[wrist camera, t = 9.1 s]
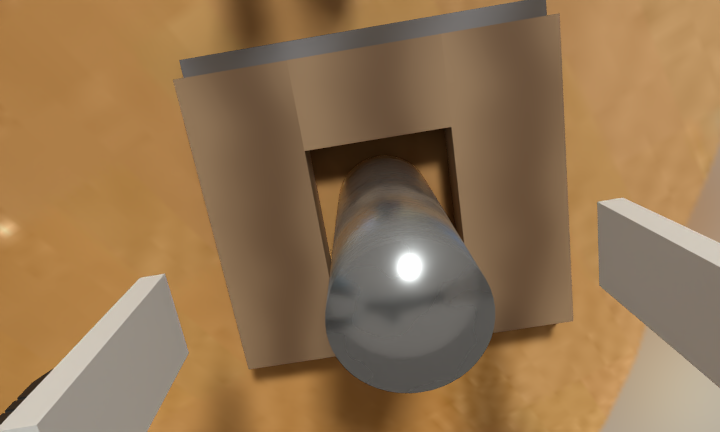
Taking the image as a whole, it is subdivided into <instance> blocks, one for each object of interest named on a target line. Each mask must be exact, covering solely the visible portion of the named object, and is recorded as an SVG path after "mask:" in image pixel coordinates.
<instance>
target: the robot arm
mask: <svg viewBox="0 0 720 432" xmlns="http://www.w3.org/2000/svg"><path fill="white" fill-rule="evenodd" d="M597 207H598V247H599V286H601V287H602V288H603V289H604V290H605V291H607V292H608V293H609V294H610V295H611V296H612V297H614V298H615V299H616V300H617V301H618V302H619V303H621V304H622V305H623V306H624V307H625V308H626V309H628V310H629V311H630V312H631V313H632V314H634V315H635V316H636V317H637V318H638V319H639V320H641V321H642V322H643V323H644V324H645V325H646V326H648V327H649V328H650V329H651V330H652V331H654V332H655V333H656V334H657V335H658V336H660V337H661V338H662V339H663V340H664V341H665V342H666V343H668V344H669V345H670V346H671V347H672V348H674V349H675V350H676V351H677V352H678V353H679V354H681V355H682V356H683V357H684V358H685V359H687V360H688V361H689V362H690V363H691V364H692V365H693V366H695V367H696V368H697V369H698V370H699V371H701V372H702V373H703V374H704V375H705V376H707V377H708V378H709V379H710V380H711V381H712V382H713V383H715V384H716V385H717V386H718V387H719V388H720V243H719V242H717V241H714V240H712V239H710V238H708V237H706V236H704V235H701V234H699V233H697V232H695V231H693V230H691V229H689V228H687V227H685V226H682V225H680V224H678V223H676V222H674V221H672V220H670V219H667V218H665V217H663V216H661V215H659V214H657V213H655V212H652V211H650V210H648V209H646V208H644V207H642V206H640V205H638V204H635V203H633V202H631V201H629V200H627V199H625V198H618V199H612V200H606V201H600V202H597ZM188 353H189V352H188V349H187V345H186V342H185V339H184V335H183V332H182V329H181V325H180V322H179V319H178V315H177V312H176V309H175V305H174V302H173V299H172V296H171V292H170V289H169V286H168V282H167V279H166V276H165V274H160V275H154V276H148V277H142V278H139V279H138V280H137V282H136V283H135V284H134V285H133V286H132V287H131V288H130V289H129V290H128V291H127V292H126V293H125V294H124V295H123V296H122V297H121V298H120V299H119V300H118V302H117V303H116V304H115V305H114V306H113V307H112V308H111V309H110V310H109V311H108V312H107V313H106V314H105V315H104V316H103V317H102V318H101V319H100V321H99V322H98V323H97V324H96V325H95V326H94V327H93V328H92V329H91V330H90V331H89V332H88V333H87V334H86V335H85V336H84V337H83V338H82V339H81V341H80V342H79V343H78V344H77V345H76V346H75V347H74V348H73V349H72V350H71V351H70V352H69V353H68V354H67V355H66V356H65V357H64V358H63V360H62V361H61V362H60V363H59V364H58V365H57V366H56V367H55V368H54V369H52V370H50V371H49V372H47V373H46V374H44V375H43V376H41V377H40V378H39V379H37V380H36V381H34V382H33V383H31V385H30V386H29V387H28V388H27V389H26V390H25V391H24V392H23V393H22V394H21V395H20V396H19V397H18V398H17V399H18V400H17V401H14V402H13V403H12V404H11V405H10V406H9V407H8V408H7V409H6V410H5V413H3V414H1V415H0V432H147V430H148V429H149V427H150V425H151V423H152V421H153V419H154V417H155V415H156V414H157V412H158V410H159V408H160V406H161V404H162V402H163V400H164V398H165V397H166V395H167V393H168V391H169V389H170V387H171V385H172V383H173V382H174V380H175V378H176V376H177V374H178V372H179V370H180V368H181V366H182V365H183V363H184V361H185V359H186V357H187V355H188Z"/></svg>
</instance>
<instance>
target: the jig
mask: <svg viewBox="0 0 720 432" xmlns="http://www.w3.org/2000/svg"><path fill="white" fill-rule="evenodd" d="M179 61H180V65H181V69H182V73H183V77H184V78H180V79H175V80H173V82H174V86H175V89H176V93H177V97H178V101H179V105H180V108H181V112H182V116H183V120H184V124H185V128H186V131H187V135H188V139H189V143H190V147H191V151H192V154H193V158H194V162H195V166H196V170H197V173H198V177H199V181H200V185H201V189H202V193H203V196H204V200H205V204H206V208H207V212H208V216H209V219H210V223H211V227H212V231H213V235H214V238H215V242H216V246H217V250H218V254H219V258H220V261H221V265H222V269H223V273H224V277H225V280H226V284H227V288H228V292H229V296H230V300H231V303H232V307H233V311H234V315H235V319H236V323H237V326H238V330H239V334H240V338H241V342H242V345H243V349H244V353H245V357H246V361H247V365H248V368H249V369H255V368H262V367H269V366H275V365H282V364H289V363H295V362H302V361H309V360H315V359H322V358H329V357H336V355H335V354H334V352H333V350H332V348H331V346H330V344H329V341H328V337H327V333H326V326H325V311H326V302H327V294H328V286H329V277H330V269H331V258H330V253H329V247H328V242H327V237H326V232H325V227H324V222H323V216H322V211H321V206H320V201H319V196H318V191H317V185H316V180H315V175H314V170H313V165H312V159H311V154H310V150H314V149H320V148H326V147H332V146H338V145H344V144H350V143H356V142H362V141H368V140H374V139H381V138H387V137H393V136H399V135H405V134H411V133H417V132H423V131H429V130H435V129H441V128H444V131H445V139H446V148H447V157H448V166H449V175H450V183H451V192H452V201H453V210H454V219H455V227H456V231H457V233H458V234H459V236H460V238H461V239H462V241H463V242H464V244H465V246H466V247H467V249H468V251H469V252H470V254H471V256H472V257H473V259H474V260H475V262H476V264H477V265H478V267H479V269H480V270H481V272H482V274H483V275H484V277H485V278H486V280H487V282H488V284H489V286H490V289H491V292H492V295H493V298H494V304H495V324H494V330H493V333H496V332H503V331H510V330H516V329H523V328H530V327H536V326H543V325H550V324H557V323H563V322H570V321H573V302H572V280H571V258H570V235H569V213H568V191H567V169H566V146H565V124H564V102H563V79H562V57H561V35H560V13H559V14H553V15H547V12H546V0H524V1H518V2H512V3H507V4H501V5H495V6H489V7H484V8H478V9H472V10H466V11H461V12H455V13H449V14H443V15H437V16H432V17H426V18H420V19H414V20H409V21H403V22H397V23H391V24H385V25H380V26H374V27H368V28H362V29H357V30H351V31H345V32H339V33H333V34H328V35H322V36H316V37H310V38H305V39H299V40H293V41H287V42H281V43H276V44H270V45H264V46H258V47H253V48H247V49H241V50H235V51H229V52H224V53H218V54H212V55H206V56H201V57H195V58H189V59H183V60H179Z"/></svg>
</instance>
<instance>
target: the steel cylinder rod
mask: <svg viewBox="0 0 720 432" xmlns="http://www.w3.org/2000/svg"><path fill="white" fill-rule="evenodd" d="M494 324H495V304H494V298H493V295H492V292H491V289H490V286H489V284H488V282H487V280H486V278H485V277H484V275H483V274H482V272H481V270H480V269H479V267H478V265H477V264H476V262H475V260H474V259H473V257H472V256H471V254H470V252H469V251H468V249H467V247H466V246H465V244H464V242H463V241H462V239H461V238H460V236H459V234H458V233H457V231H456V229H455V228H454V226H453V225H452V223H451V221H450V220H449V218H448V216H447V215H446V213H445V211H444V210H443V208H442V207H441V205H440V203H439V202H438V200H437V198H436V197H435V195H434V193H433V192H432V190H431V189H430V187H429V185H428V184H427V182H426V180H425V179H424V177H423V176H422V174H421V173H420V171H419V170H418V169H417V168H416V167H415V166H413V165H412V164H411V163H409V162H408V161H406V160H404V159H401V158H398V157H394V156H376V157H371V158H369V159H366V160H364V161H362V162H360V163H359V164H357V165H356V166H355V167H354V168H353V169H352V170H351V171H350V172H349V173H348V174H347V176H346V177H345V179H344V181H343V183H342V186H341V189H340V194H339V202H338V211H337V219H336V227H335V236H334V244H333V252H332V261H331V269H330V277H329V286H328V294H327V302H326V311H325V326H326V333H327V337H328V341H329V344H330V346H331V348H332V350H333V352H334V354H335V355H336V357H337V359H338V360H339V361H340V363H341V364H342V365H343V366H344V367H345V368H346V369H347V370H348V371H349V372H350V373H351V374H352V375H354V376H355V377H356V378H358V379H359V380H361V381H363V382H365V383H366V384H368V385H370V386H373V387H376V388H378V389H382V390H386V391H390V392H397V393H418V392H424V391H429V390H433V389H436V388H439V387H442V386H444V385H447V384H449V383H451V382H453V381H454V380H456V379H458V378H459V377H461V376H462V375H464V374H465V373H466V372H467V371H469V370H470V369H471V368H472V367H473V366H474V365H475V364H476V363H477V361H478V360H479V359H480V357H481V356H482V355H483V353H484V351H485V350H486V348H487V346H488V344H489V342H490V339H491V337H492V333H493V330H494Z"/></svg>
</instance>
